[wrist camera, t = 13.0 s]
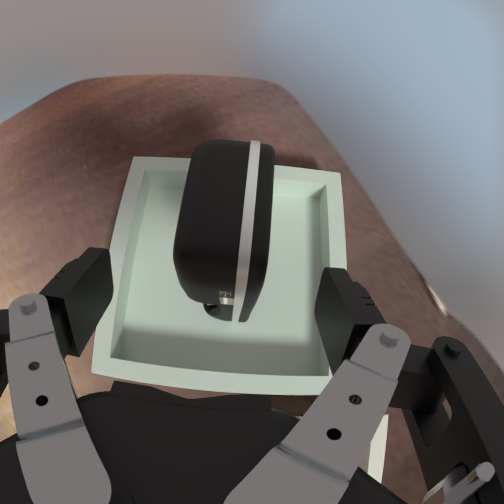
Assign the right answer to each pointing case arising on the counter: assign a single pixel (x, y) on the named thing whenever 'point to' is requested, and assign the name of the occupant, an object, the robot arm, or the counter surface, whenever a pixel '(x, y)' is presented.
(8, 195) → the counter surface
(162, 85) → the counter surface
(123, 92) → the counter surface
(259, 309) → the tray
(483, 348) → the counter surface
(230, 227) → the battery charger
